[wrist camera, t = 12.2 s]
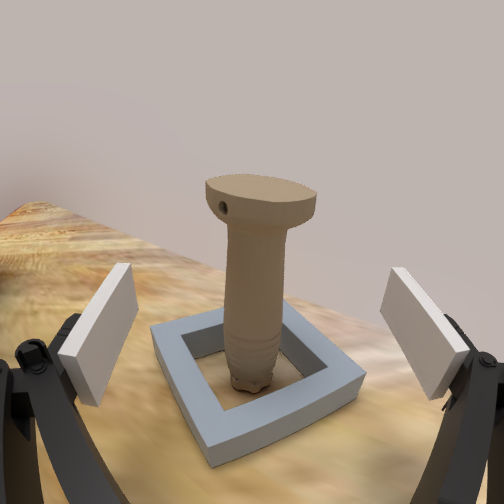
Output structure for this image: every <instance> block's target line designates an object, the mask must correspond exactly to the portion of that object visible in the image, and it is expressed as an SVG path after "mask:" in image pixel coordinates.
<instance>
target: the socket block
mask: <svg viewBox="0 0 504 504" xmlns="http://www.w3.org/2000/svg"><path fill="white" fill-rule="evenodd" d="M223 318H224V307H223V308H219V309H216V310H212V311H208V312H204V313H200V314H196V315H193V316H189V317H185V318H181V319H177V320H173V321H169V322H165V323H161V324H157V325H152V326H150V330H151V335H152V340H153V345H154V349H155V353H156V356H157V358H158V361H159V363H160V365H161V368H162V370H163V372H164V375H165V377H166V379H167V381H168V384H169V386H170V388H171V390H172V393H173V395H174V397H175V399H176V401H177V403H178V405H179V407H180V410H181V412H182V414H183V416H184V418H185V420H186V422H187V424H188V426H189V428H190V430H191V432H192V434H193V436H194V437H195V439H196V441H197V443H198V445H199V447H200V449H201V451H202V452H203V454H204V456H205V458H206V460H207V462H208V463H209V465H210V467H211V468H213V467H216V466H219V465H221V464H224V463H227V462H229V461H232V460H234V459H237V458H239V457H242V456H244V455H247V454H249V453H251V452H254V451H256V450H258V449H261V448H263V447H265V446H267V445H269V444H272V443H274V442H276V441H278V440H280V439H282V438H284V437H286V436H288V435H291V434H293V433H295V432H297V431H299V430H300V429H302V428H304V427H306V426H308V425H310V424H312V423H314V422H316V421H318V420H319V419H321V418H323V417H325V416H327V415H328V414H330V413H332V412H334V411H335V410H337V409H339V408H341V407H342V406H344V405H346V404H347V403H349V402H351V401H352V400H354V399H356V397H357V395H358V392H359V390H360V388H361V385H362V383H363V380H364V378H365V375H366V373H367V372H366V371H364V370H363V369H362V368H361V367H360V366H359V365H357V364H356V363H355V362H354V361H353V360H352V359H351V358H349V357H348V356H347V355H346V354H345V353H344V352H343V351H342V350H340V349H339V348H338V347H337V346H336V345H335V344H334V343H332V342H331V341H330V340H329V339H328V338H327V337H326V336H324V335H323V334H322V333H321V332H320V331H319V330H318V329H317V328H315V327H314V326H313V325H312V324H311V323H310V322H309V321H307V320H306V319H305V318H304V317H303V316H302V315H301V314H300V313H298V312H297V311H296V310H295V309H294V308H293V307H292V306H291V305H289V304H288V303H287V302H286V301H285V300H284V299H283V320H282V332H281V340H280V346H279V349H280V350H281V351H282V352H283V354H284V355H285V356H286V357H287V358H288V359H289V360H290V361H291V362H292V363H293V364H294V365H295V366H296V368H297V369H298V370H299V371H300V372H301V373H302V374H303V375H304V376H305V377H306V378H304V379H302V380H300V381H298V382H295V383H293V384H291V385H289V386H286V387H284V388H282V389H280V390H277V391H275V392H273V393H270V394H268V395H265V396H263V397H260V398H258V399H255V400H253V401H250V402H248V403H245V404H243V405H240V406H237V407H235V408H232V409H229V410H227V411H224V409H223V408H222V406H221V404H220V403H219V401H218V400H217V398H216V396H215V395H214V393H213V391H212V390H211V388H210V386H209V385H208V383H207V381H206V380H205V378H204V376H203V374H202V373H201V371H200V369H199V367H198V366H197V364H196V362H195V360H194V359H196V358H199V357H203V356H206V355H209V354H212V353H216V352H219V351H222V350H225V345H224V330H223Z"/></svg>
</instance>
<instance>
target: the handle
mask: <svg viewBox="0 0 504 504" xmlns="http://www.w3.org/2000/svg"><path fill="white" fill-rule="evenodd" d="M316 195H317V193H316V192H315V191H313V190H312V189H310V188H308V187H306V186H304V185H302V184H299V183H295V182H292V181H288V180H284V179H279V178H274V177H268V176H259V175H250V174H235V175H225V176H219V177H214V178H211V179H208V180H206V200H207V203H208V205H209V207H210V209H211V210H212V211H213V213H214V214H215V215H216V216H217V217H218V219H220V220H222V221H223V222H224V223H226V224H227V227H228V249H227V267H226V268H227V269H226V285H225V301H224V318H223V330H224V345H225V354H226V359H227V364H228V368H229V370H230V374H231V375H232V376H231V381H232V385H233V386H234V387H235V388H236V389H238V390H247V391H250V392H252V393H256V392H259V390H260V389H261V388H262V387H265V386H268V385H269V384H270V381H271V379H272V375H273V373H272V370H273V368H274V365H275V362H276V359H277V355H278V351H279V346H280V340H281V332H282V320H283V285H284V258H285V242H286V235H287V230H288V229H290V228H293V227H296V226H299V225H301V224H303V223H305V222H306V221H308V220H309V219H311V218H312V217H313V215H314V211H315V204H316Z"/></svg>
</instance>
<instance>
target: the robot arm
mask: <svg viewBox="0 0 504 504" xmlns="http://www.w3.org/2000/svg"><path fill="white" fill-rule="evenodd" d="M138 310H139V309H138V303H137V298H136V292H135V287H134V281H133V274H132V268H131V263H116V265H115V266H114V268H113V269H112V270H111V272H110V273H109V275H108V276H107V277H106V279H105V280H104V282H103V283H102V285H101V286H100V288H99V289H98V291H97V292H96V293H95V295H94V296H93V298H92V299H91V301H90V302H89V304H88V305H87V307H86V309H85V310H84V312H83V313H82V314H77V313H74V314H73V315H72V316H70V317H69V318H68V319H67V320H66V321H65V322H64V324H63V325H62V327H61V329H60V330H59V331H58V333H57V335H56V336H55V337H54V339H53V341H52V342H51V344H50V345H49V347H48V348H47V347H46V345H45V343H44V342H43V341H42V340H40V339H30V340H27V341H25V342H23V343H21V344H20V345H19V346H18V347H17V349H16V351H15V357H16V359H17V361H18V363H19V365H20V367H21V368H15V369H10V368H9V366H8V364H7V363H6V361H4V360H2V359H0V504H44V501H43V495H42V489H41V483H40V475H39V467H38V458H37V446H36V430H35V418H36V421H37V425H38V428H39V431H40V434H41V437H42V440H43V442H44V445H45V448H46V451H47V453H48V456H49V459H50V461H51V464H52V466H53V469H54V471H55V473H56V476H57V478H58V480H59V483H60V485H61V487H62V489H63V491H64V493H65V496H66V498H67V500H68V502H69V504H130V503H129V501H128V500H127V498H126V497H125V495H124V494H123V492H122V491H121V489H120V488H119V486H118V484H117V483H116V481H115V480H114V478H113V476H112V475H111V473H110V471H109V470H108V468H107V466H106V464H105V463H104V461H103V459H102V457H101V456H100V454H99V452H98V450H97V448H96V446H95V444H94V442H93V441H92V439H91V437H90V435H89V433H88V431H87V429H86V427H85V424H84V422H83V420H82V418H81V416H80V414H79V412H78V409H77V407H76V405H75V403H74V401H75V398H76V396H77V395H78V397H79V399H80V401H81V403H82V404H85V405H90V406H95V407H99V405H100V402H101V400H102V397H103V394H104V392H105V389H106V387H107V384H108V381H109V379H110V376H111V374H112V371H113V369H114V366H115V364H116V361H117V359H118V356H119V354H120V352H121V349H122V347H123V344H124V342H125V340H126V337H127V335H128V333H129V330H130V328H131V326H132V323H133V321H134V319H135V317H136V314H137V312H138ZM380 312H381V314H382V316H383V317H384V319H385V321H386V323H387V324H388V326H389V328H390V329H391V331H392V333H393V335H394V336H395V338H396V340H397V342H398V344H399V345H400V347H401V349H402V351H403V353H404V354H405V356H406V358H407V360H408V362H409V364H410V365H411V367H412V369H413V371H414V373H415V375H416V377H417V378H418V380H419V382H420V384H421V386H422V388H423V390H424V392H425V394H426V396H427V398H428V400H429V401H430V400H434V399H438V398H442V397H443V396H444V394H445V393H446V391H447V390H448V388H449V389H450V391H451V392H452V394H451V396H450V397H449V399H448V400H447V402H446V404H445V405H444V406H443V408H442V411H444V409H445V408H446V410H445V414H444V417H443V420H442V423H441V427H440V430H439V433H438V436H437V439H436V442H435V444H434V447H433V450H432V453H431V455H430V458H429V461H428V463H427V466H426V468H425V471H424V473H423V475H422V478H421V480H420V482H419V485H418V487H417V489H416V491H415V493H414V496H413V498H412V500H411V502H410V504H476V501H477V497H478V494H479V490H480V487H481V483H482V479H483V475H484V471H485V467H486V462H487V458H488V480H487V503H486V504H504V363H498V362H497V360H496V358H494V357H493V356H492V355H491V354H489V353H487V352H478V350H477V349H476V348H475V347H474V345H473V344H472V342H471V341H470V340H469V338H468V337H467V336H466V335H465V334H464V332H463V331H462V329H460V327H459V326H458V324H457V323H456V322H455V321H454V320H453V319H452V318H451V317H449V316H448V315H447V314H442V312H441V311H440V310H439V309H438V308H437V306H436V305H435V304H434V303H433V301H432V300H431V299H430V298H429V297H428V295H427V294H426V293H425V292H424V290H423V289H422V288H421V287H420V286H419V285H418V283H417V282H416V281H415V280H414V279H413V278H412V276H411V275H410V274H409V273H408V272H407V271H406V269H405V268H403V267H402V268H401V267H398V268H397V267H392V268H391V272H390V276H389V280H388V283H387V287H386V291H385V295H384V298H383V302H382V306H381V309H380Z"/></svg>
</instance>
